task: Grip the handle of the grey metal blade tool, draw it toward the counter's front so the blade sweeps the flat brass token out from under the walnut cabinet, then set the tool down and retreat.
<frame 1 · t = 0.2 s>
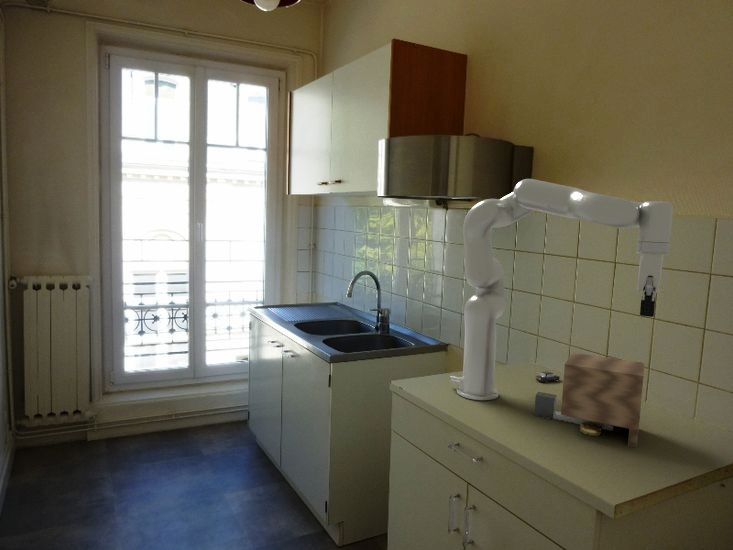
hand: (646, 313, 143), 31 cm above the table, tool pointing down, fingers open, 9 cm apart
blade tool: (544, 415, 151), on the table
toy car: (543, 382, 183), on the table
cabinet: (599, 430, 142), on the table
token: (590, 432, 141), on the table
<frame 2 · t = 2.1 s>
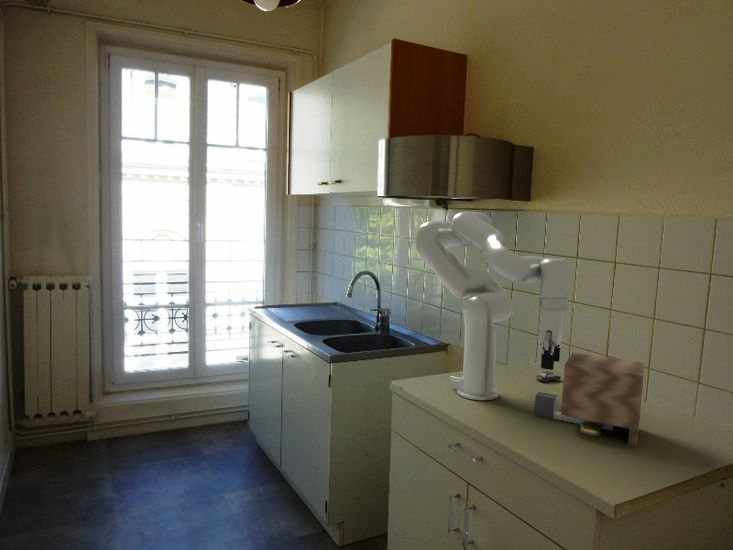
hand: (550, 364, 149), 15 cm above the table, tool pointing down, fingers open, 9 cm apart
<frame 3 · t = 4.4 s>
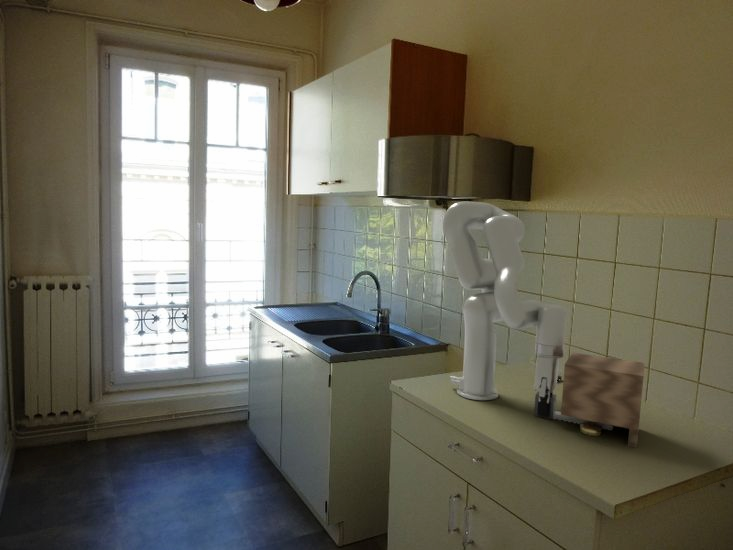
hand: (544, 413, 151), 1 cm above the table, tool pointing down, fingers closed on blade tool, 3 cm apart
blade tool: (544, 415, 151), on the table, touching gripper
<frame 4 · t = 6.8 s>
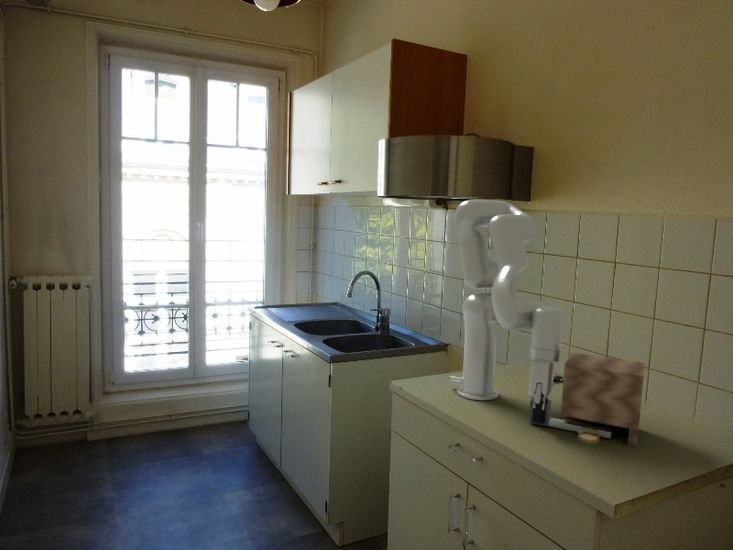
hand: (539, 419, 145), 1 cm above the table, tool pointing down, fingers closed on blade tool, 3 cm apart
blade tool: (539, 422, 145), point 1 cm above the table, touching gripper, token
token: (588, 439, 136), on the table, touching blade tool
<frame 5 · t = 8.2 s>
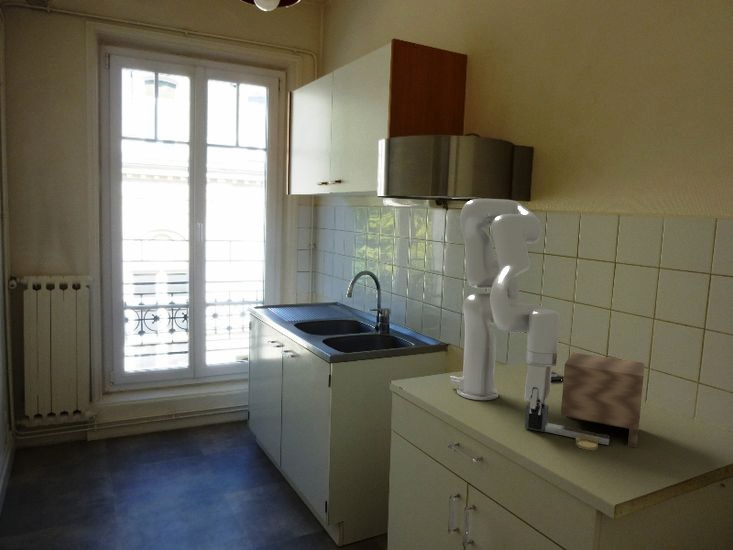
hand: (536, 425, 141), 1 cm above the table, tool pointing down, fingers closed on blade tool, 3 cm apart
blade tool: (535, 427, 141), on the table, touching gripper
token: (586, 447, 132), on the table
when the fingers open (1 cm above the table, at t = 9.4 s): blade tool stays where it is, on the table.
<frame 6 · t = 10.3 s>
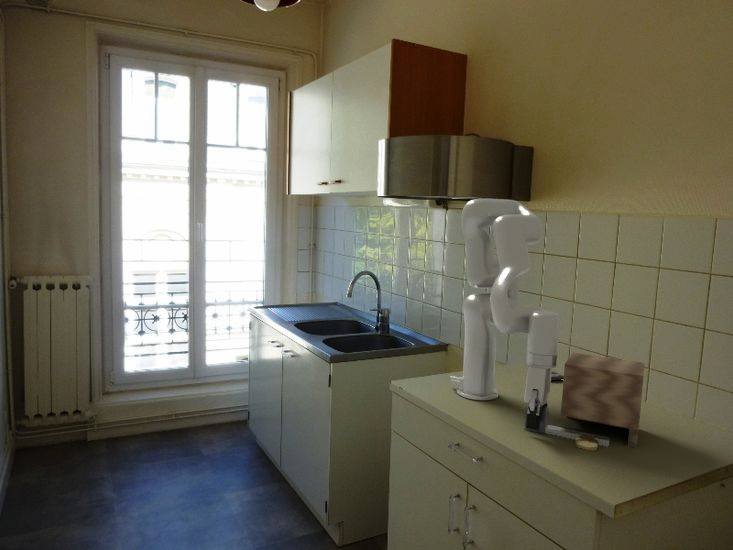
hand: (536, 422, 141), 2 cm above the table, tool pointing down, fingers open, 9 cm apart
blade tool: (535, 429, 141), on the table
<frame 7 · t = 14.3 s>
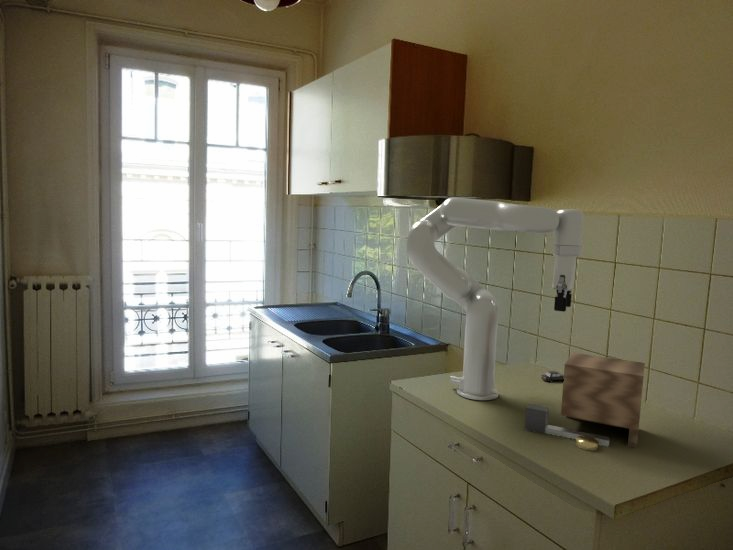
hand: (562, 308, 161), 28 cm above the table, tool pointing down, fingers open, 9 cm apart
at the end: token inside the target area (2.7 cm from its centre), on the table; token moved 10.3 cm from its start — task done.
